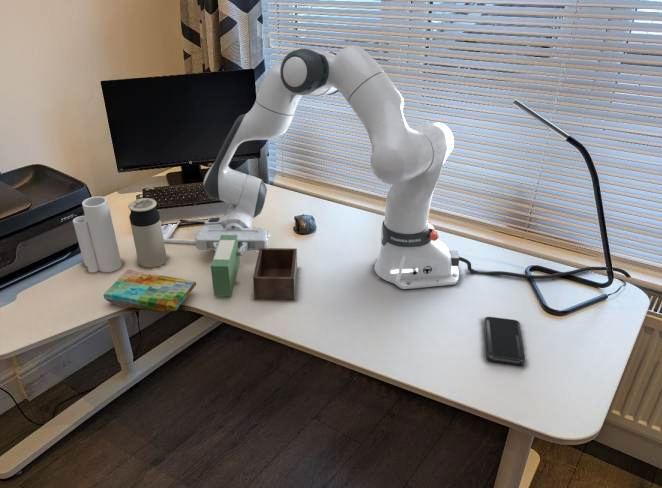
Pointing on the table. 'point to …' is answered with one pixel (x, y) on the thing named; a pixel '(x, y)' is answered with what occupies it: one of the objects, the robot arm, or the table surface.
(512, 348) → the phone
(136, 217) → the travel mug
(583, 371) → the table surface
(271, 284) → the box
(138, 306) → the puzzle game
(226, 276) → the tea packet
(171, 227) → the photo frame
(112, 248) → the vase
